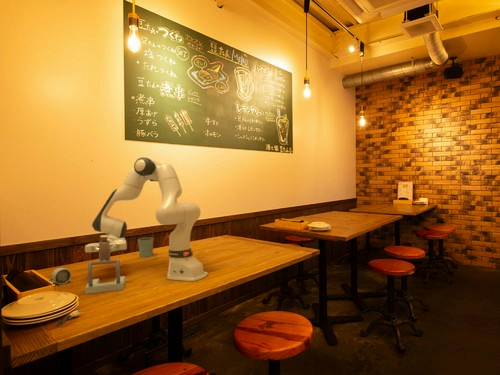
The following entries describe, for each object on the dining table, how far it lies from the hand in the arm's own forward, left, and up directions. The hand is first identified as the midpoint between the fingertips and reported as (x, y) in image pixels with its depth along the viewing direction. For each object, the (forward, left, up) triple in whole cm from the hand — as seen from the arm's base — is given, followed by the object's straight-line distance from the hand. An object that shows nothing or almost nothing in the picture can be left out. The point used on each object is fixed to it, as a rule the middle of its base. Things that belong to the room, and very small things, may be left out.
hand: (104, 249), depth 160 cm
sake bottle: (+1, -1, -7) cm, 7 cm away
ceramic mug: (+21, +12, -17) cm, 29 cm away
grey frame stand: (-8, +5, -17) cm, 19 cm away
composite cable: (-25, +35, -17) cm, 47 cm away
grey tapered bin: (+23, -49, -17) cm, 56 cm away
